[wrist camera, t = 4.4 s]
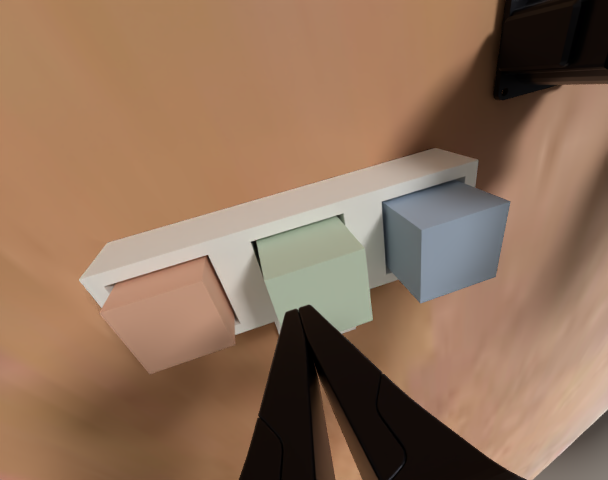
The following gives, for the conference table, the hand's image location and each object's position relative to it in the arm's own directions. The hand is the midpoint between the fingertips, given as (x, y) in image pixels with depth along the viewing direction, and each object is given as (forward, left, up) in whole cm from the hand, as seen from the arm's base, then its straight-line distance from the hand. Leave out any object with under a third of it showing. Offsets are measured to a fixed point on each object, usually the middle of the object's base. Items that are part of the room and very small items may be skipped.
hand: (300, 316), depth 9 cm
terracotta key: (+7, +4, -10) cm, 13 cm away
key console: (-1, +4, -11) cm, 12 cm away
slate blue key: (-9, +4, -9) cm, 13 cm away
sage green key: (-1, +4, -9) cm, 10 cm away
